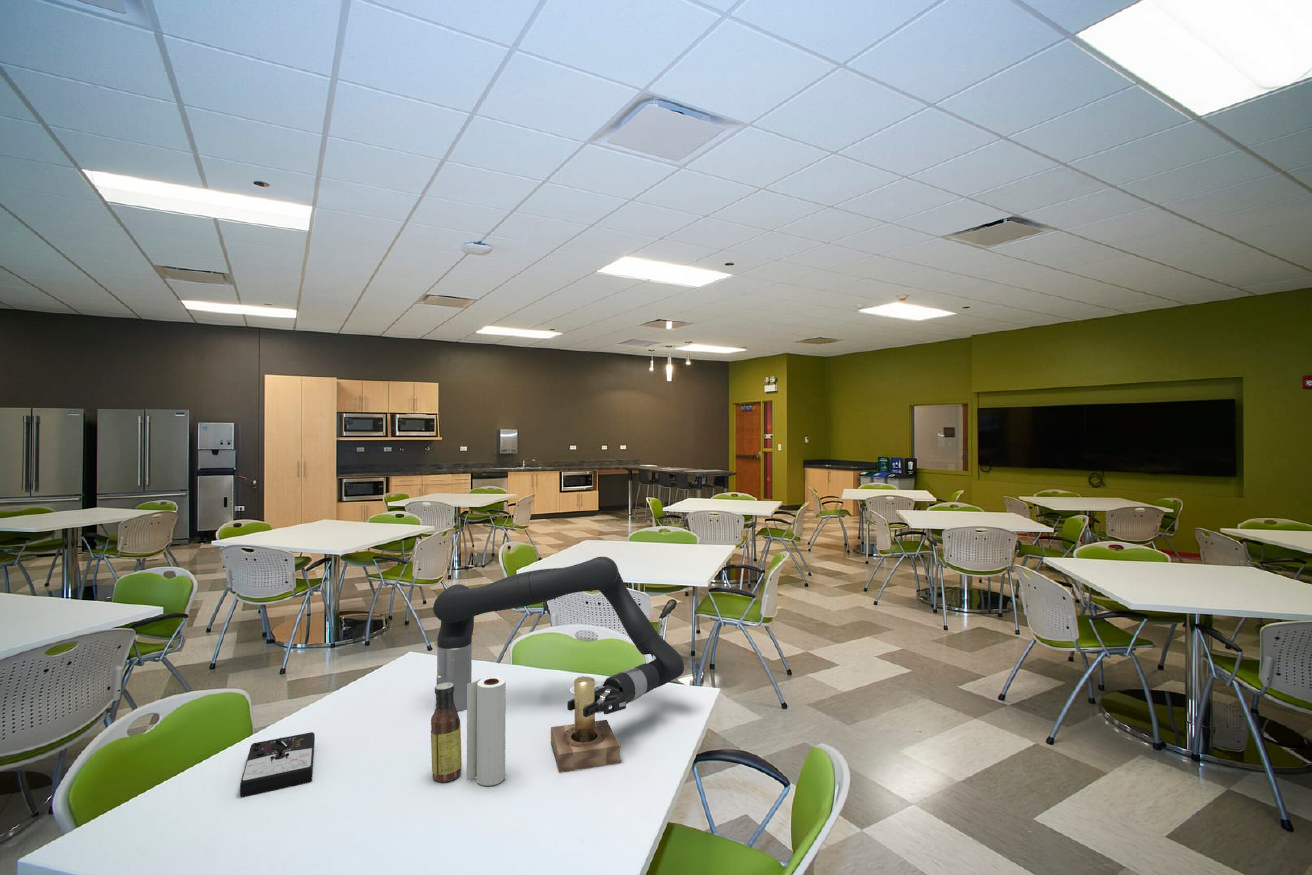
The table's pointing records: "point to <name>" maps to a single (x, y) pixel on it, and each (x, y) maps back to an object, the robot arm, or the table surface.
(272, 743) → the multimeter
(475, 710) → the paper towel roll
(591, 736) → the yellow cylinder peg
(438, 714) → the sauce bottle
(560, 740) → the jig
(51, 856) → the table surface
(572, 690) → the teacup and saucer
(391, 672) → the table surface
